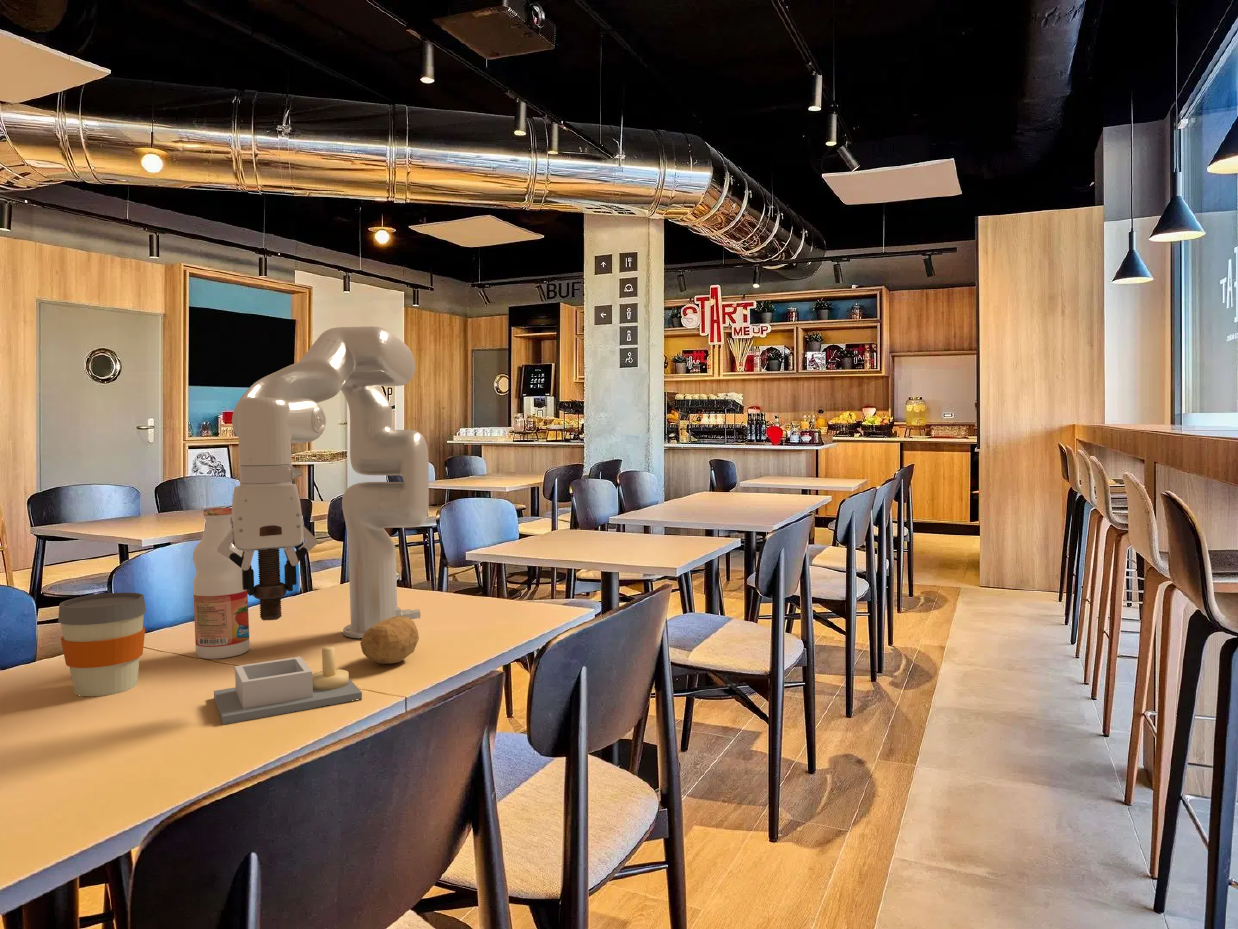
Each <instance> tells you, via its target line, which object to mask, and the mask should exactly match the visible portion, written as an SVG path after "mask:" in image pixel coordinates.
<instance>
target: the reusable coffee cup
mask: <svg viewBox="0 0 1238 929" xmlns="http://www.w3.org/2000/svg"><path fill="white" fill-rule="evenodd" d="M58 607H59V608H58V617H57V618H58V619H57V622H58V624H60V627H61V631H62V635H63V636H61V638H60V643H61V647H62V652H63V653H62V654H63V656H64V660H65V661H64V662H65V666H67V667H68V668H69V672H70V676H71V681H72V687H73V690H74V694H75V693H76V694H77V695H80V696H79V697H82V696H91V697H90V698H93V697H92V696H97V697H105V696H110V695H109V694H111V695H116V694H119V693H123V692H126V690H127V691H129V690H132V689H133V687H134V688H135V687H136V686H137V685H138V677H139V669H140V668H139V667H140V658H141V657H142V656H143V653H144V645H145V636H146V635H145V634H146V627H145V626H144V616H145V614H146V613H147V608H146V601H145V596H144V594H142V593H139V592H110V593H109V592H108V593H98V594H91V595H84V596H80V597H79V596H78V597H74V598H71V599H67V600H64V601H62V602H60V603H59V605H58ZM131 688H132V689H131ZM115 693H116V694H115ZM76 694H75V695H76ZM77 695H76V696H77ZM104 695H105V696H104Z"/></svg>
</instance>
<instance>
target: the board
mask: <svg viewBox="0 0 1238 929" xmlns="http://www.w3.org/2000/svg"><path fill="white" fill-rule="evenodd" d="M321 660H322V661H321V662H322V664H321V665H322V666H321V667H322V670H320V671H316V672H313V671H312V669H311V668H310V667H309V665H308V663H306V661H305V660H304V659H303V658H302V656H296V657H287V658H283V659H274V660H269V661H262V662H255V663H254V662H253V663H247V664H242V665H235V666H234V678H235V679H234V680H235V682H234V683H235V686H234V687H230V688H224V689H223V688H222V689H216V690H213V698H214V702H215V705H216V708H217V710H218V711H217V712H218V713H219V717H220V720H221V723H222V725H228V724H232V723H233V724H234V723H239V722H246V721H250V720H255V719H256V720H257V719H262V718H267V717H273V716H279V715H285V714H289V713H290V714H291V713H296V712H301V711H306V710H307V711H308V710H311V709H312V708H313V709H317V708H316V707H319V708H322V707H321V706H324V707H326V706H325V705H330V706H334V704H335V705H339V704H338V703H341V704H344V703H343V702H347V701H352V700H356V699H362V700H363V692H362V691H361V690H360V688H358V686H357V685H356V684H355V683H354V682H353V681H352V680H351V678H350V677H349V676H350V675H349V674H350V673H349V671H348V670H344V669H338V668H337V669H336V647H335V646H324V647H323V648H321ZM352 702H353V701H352ZM347 703H348V702H347ZM295 711H296V712H295Z"/></svg>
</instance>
